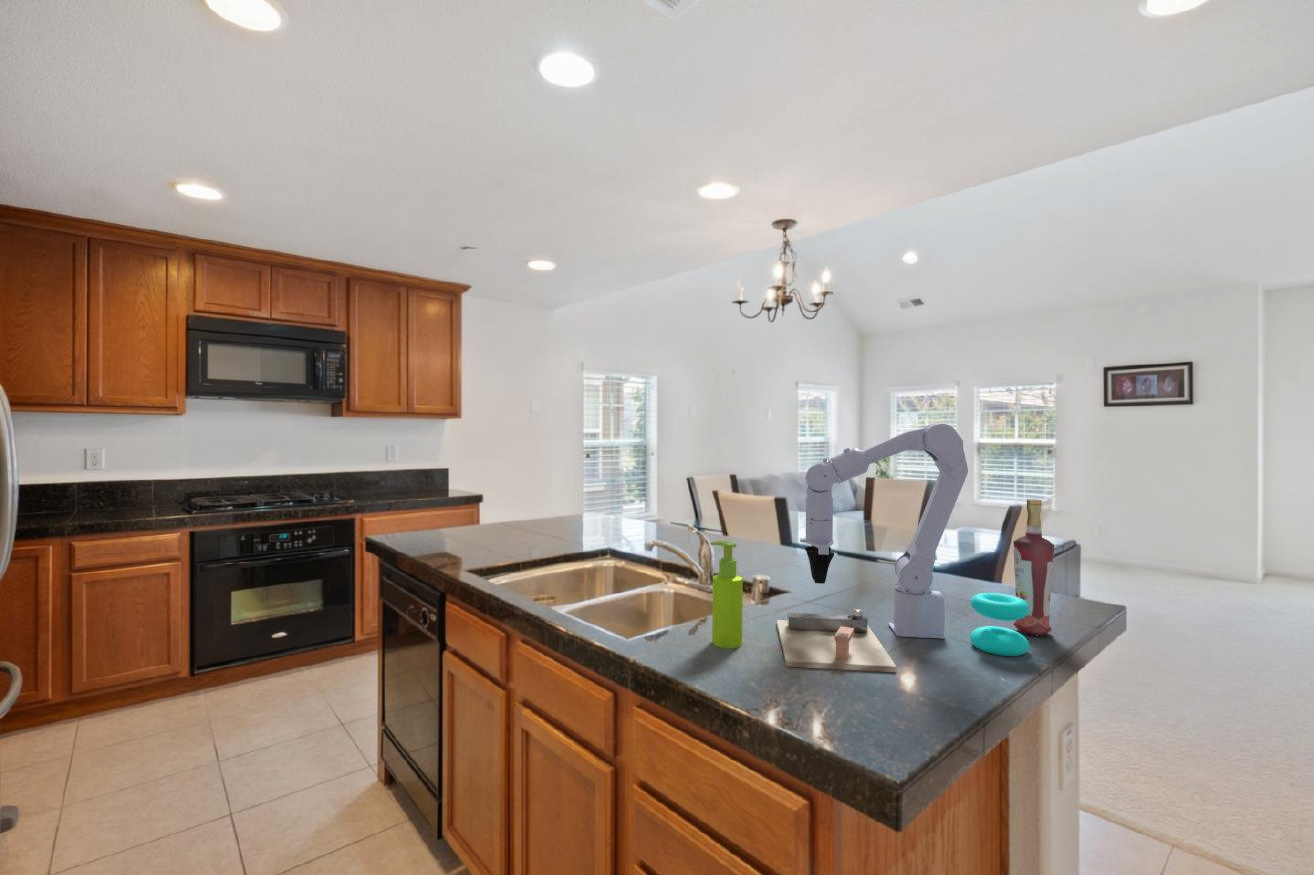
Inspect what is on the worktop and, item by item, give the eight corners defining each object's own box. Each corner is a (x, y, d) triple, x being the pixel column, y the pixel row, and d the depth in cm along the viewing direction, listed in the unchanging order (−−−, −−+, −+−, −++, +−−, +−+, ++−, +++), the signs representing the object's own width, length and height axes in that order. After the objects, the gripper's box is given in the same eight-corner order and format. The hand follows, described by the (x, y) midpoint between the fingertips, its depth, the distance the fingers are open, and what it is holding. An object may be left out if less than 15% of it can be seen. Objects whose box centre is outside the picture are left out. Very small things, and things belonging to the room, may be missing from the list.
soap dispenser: (721, 634, 127) (721, 538, 127) (748, 643, 123) (748, 542, 122) (702, 641, 123) (703, 541, 123) (729, 650, 118) (730, 546, 118)
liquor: (1059, 639, 126) (1061, 502, 125) (1019, 637, 127) (1021, 501, 127) (1044, 628, 133) (1046, 498, 132) (1007, 626, 134) (1008, 497, 134)
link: (865, 627, 129) (865, 608, 129) (869, 633, 125) (869, 613, 125) (787, 623, 131) (787, 604, 131) (789, 629, 127) (789, 610, 127)
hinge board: (867, 628, 132) (867, 623, 132) (896, 672, 108) (896, 666, 108) (776, 624, 134) (776, 619, 134) (786, 666, 111) (786, 660, 111)
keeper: (840, 647, 118) (840, 626, 118) (854, 649, 117) (854, 628, 117) (834, 657, 113) (834, 635, 112) (848, 659, 111) (848, 637, 111)
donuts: (1034, 607, 114) (973, 601, 118) (1033, 661, 114) (972, 653, 118) (1024, 594, 123) (968, 589, 127) (1024, 644, 123) (968, 637, 127)
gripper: (797, 514, 142) (796, 572, 142) (804, 523, 128) (803, 589, 128) (828, 514, 141) (827, 573, 142) (839, 524, 127) (838, 590, 127)
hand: (818, 581), depth 135 cm, fingers open, 3 cm apart
